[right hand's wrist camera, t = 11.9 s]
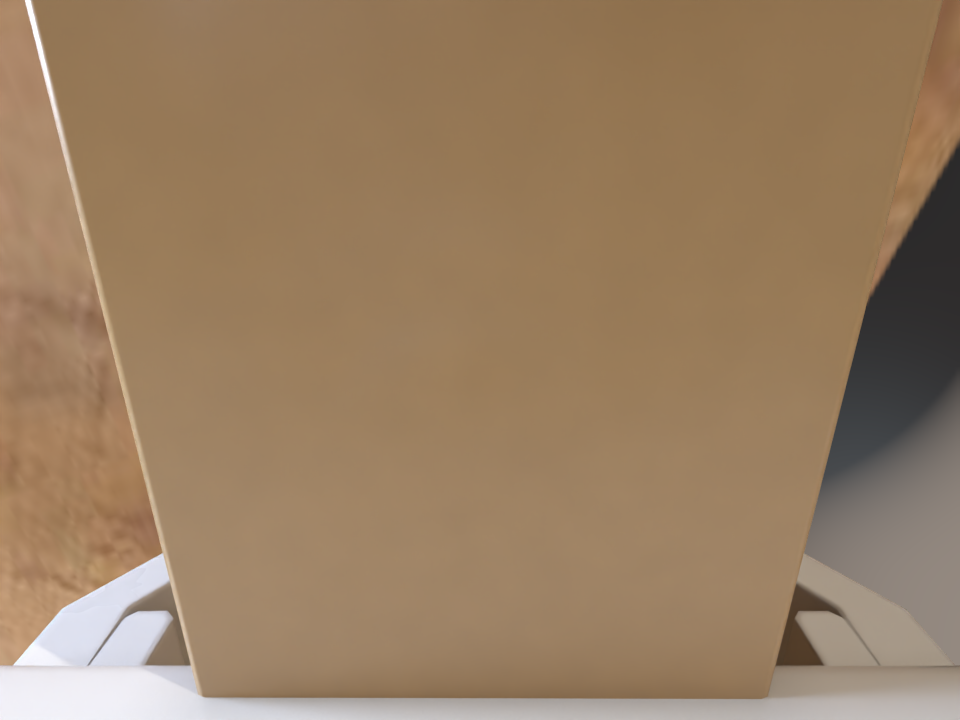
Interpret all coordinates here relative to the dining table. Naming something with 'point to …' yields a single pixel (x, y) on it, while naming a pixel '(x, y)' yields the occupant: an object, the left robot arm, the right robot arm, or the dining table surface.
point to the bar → (483, 321)
